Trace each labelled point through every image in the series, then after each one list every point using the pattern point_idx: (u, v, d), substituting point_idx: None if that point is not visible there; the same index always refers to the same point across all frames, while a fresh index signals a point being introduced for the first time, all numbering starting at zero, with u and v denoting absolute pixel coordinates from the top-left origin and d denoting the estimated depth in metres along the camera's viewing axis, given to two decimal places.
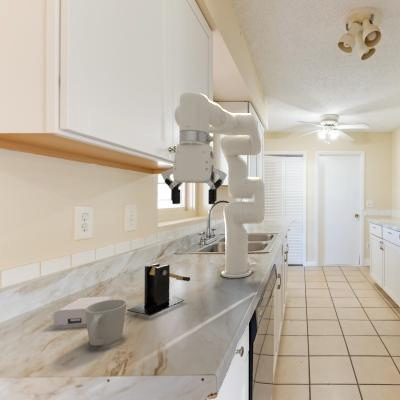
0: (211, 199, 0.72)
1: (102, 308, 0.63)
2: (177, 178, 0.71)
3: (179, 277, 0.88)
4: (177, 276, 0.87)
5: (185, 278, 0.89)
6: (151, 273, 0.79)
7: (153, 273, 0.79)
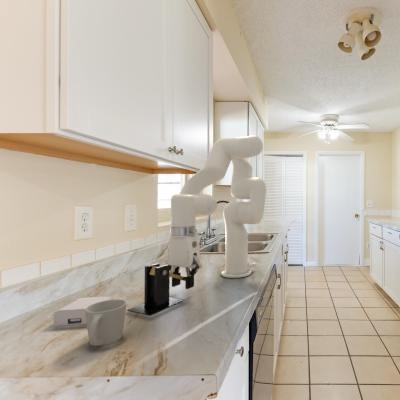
0: (187, 285, 0.87)
1: (102, 308, 0.63)
2: (169, 263, 0.89)
3: (179, 277, 0.88)
4: (177, 276, 0.87)
5: None
6: (151, 273, 0.79)
7: (153, 273, 0.79)
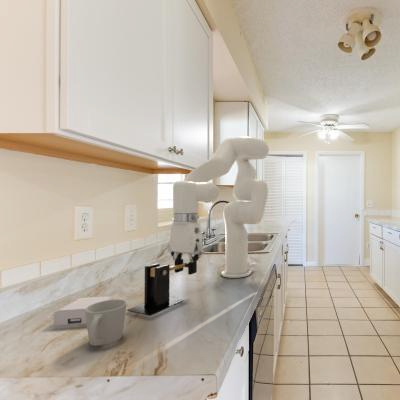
0: (190, 270, 0.89)
1: (102, 308, 0.63)
2: (172, 249, 0.90)
3: (181, 266, 0.88)
4: (179, 266, 0.87)
5: (187, 265, 0.90)
6: (152, 275, 0.79)
7: (153, 275, 0.79)
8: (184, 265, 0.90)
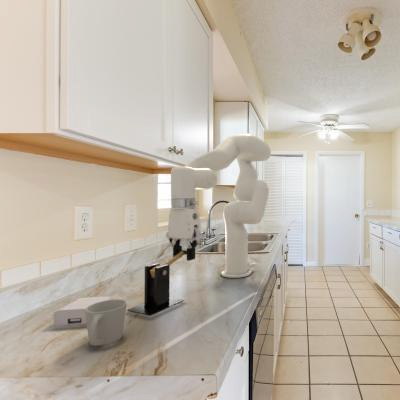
0: (189, 256, 0.88)
1: (102, 308, 0.63)
2: (170, 235, 0.89)
3: (180, 256, 0.88)
4: (177, 257, 0.87)
5: (186, 253, 0.89)
6: (153, 276, 0.80)
7: None
8: (182, 253, 0.89)
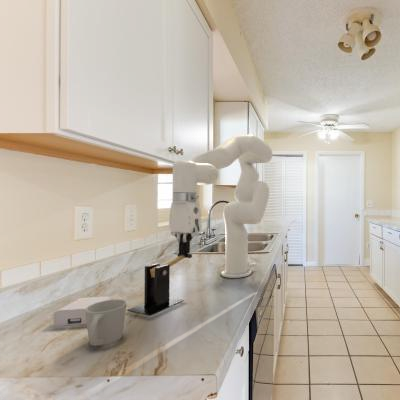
0: (183, 250, 0.89)
1: (102, 308, 0.63)
2: (171, 229, 0.90)
3: (181, 258, 0.88)
4: (178, 259, 0.87)
5: (187, 256, 0.89)
6: (152, 276, 0.80)
7: (154, 276, 0.79)
8: (183, 256, 0.89)
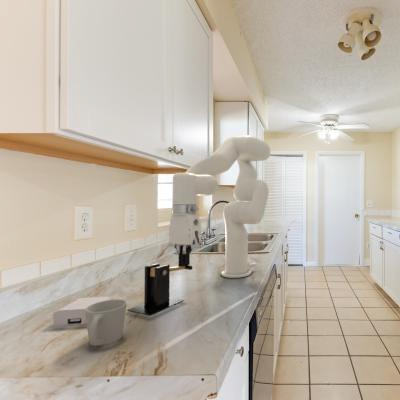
0: (183, 262, 0.89)
1: (102, 308, 0.63)
2: (171, 241, 0.90)
3: (181, 268, 0.88)
4: (179, 268, 0.87)
5: (187, 267, 0.89)
6: (151, 275, 0.79)
7: (153, 275, 0.79)
8: (184, 267, 0.90)
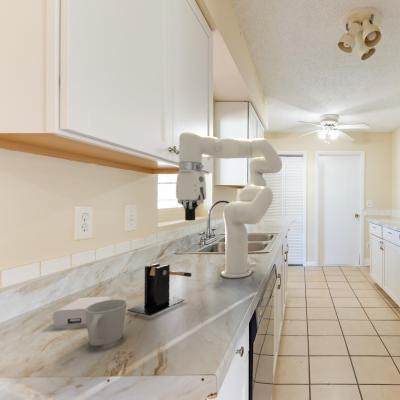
0: (189, 216, 0.95)
1: (102, 308, 0.63)
2: (178, 197, 0.96)
3: (180, 273, 0.88)
4: (178, 273, 0.87)
5: (186, 274, 0.89)
6: (151, 274, 0.79)
7: (153, 274, 0.79)
8: (183, 273, 0.89)
